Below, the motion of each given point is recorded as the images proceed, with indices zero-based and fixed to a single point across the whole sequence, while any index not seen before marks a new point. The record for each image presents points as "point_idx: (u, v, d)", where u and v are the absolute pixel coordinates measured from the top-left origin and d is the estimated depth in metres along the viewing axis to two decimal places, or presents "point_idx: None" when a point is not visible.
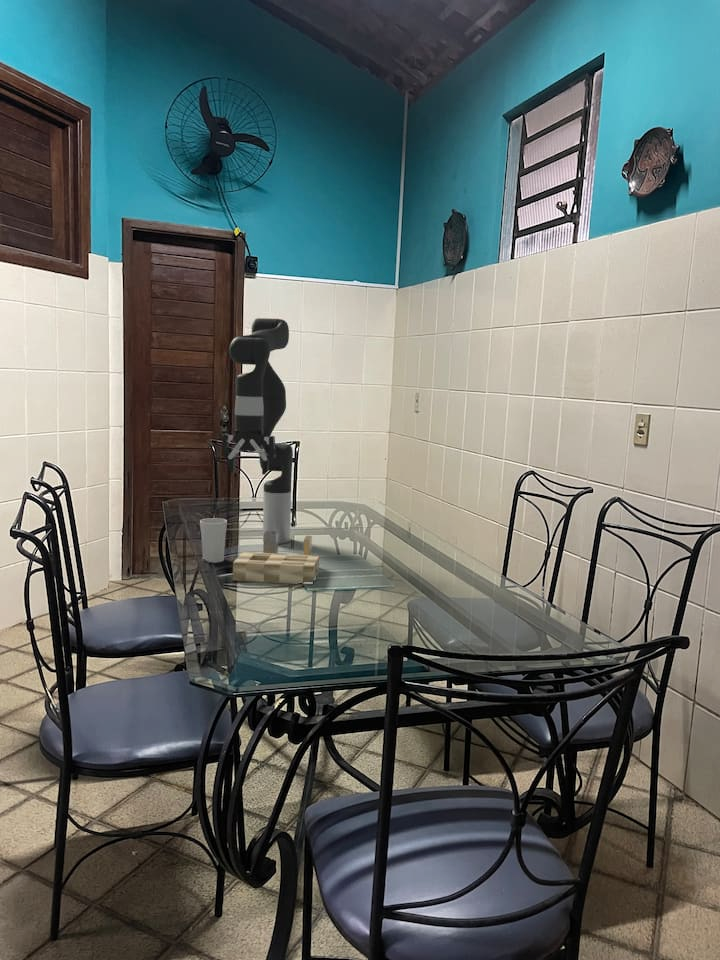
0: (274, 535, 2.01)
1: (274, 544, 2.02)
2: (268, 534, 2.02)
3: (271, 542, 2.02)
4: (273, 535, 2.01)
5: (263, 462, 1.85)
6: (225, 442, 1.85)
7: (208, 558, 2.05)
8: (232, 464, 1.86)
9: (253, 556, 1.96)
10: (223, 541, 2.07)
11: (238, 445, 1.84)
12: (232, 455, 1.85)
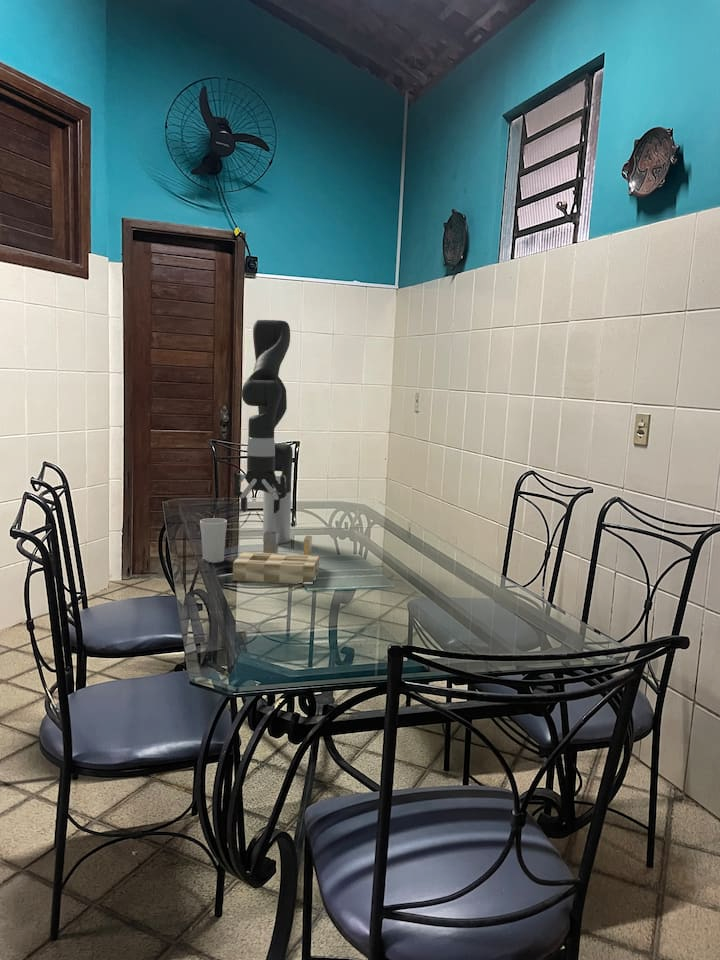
0: (274, 535, 2.01)
1: (274, 544, 2.02)
2: (268, 534, 2.02)
3: (271, 542, 2.02)
4: (273, 535, 2.01)
5: (274, 501, 1.89)
6: (237, 482, 1.89)
7: (208, 558, 2.05)
8: (244, 503, 1.90)
9: (253, 556, 1.96)
10: (223, 541, 2.07)
11: (250, 485, 1.89)
12: (244, 494, 1.90)
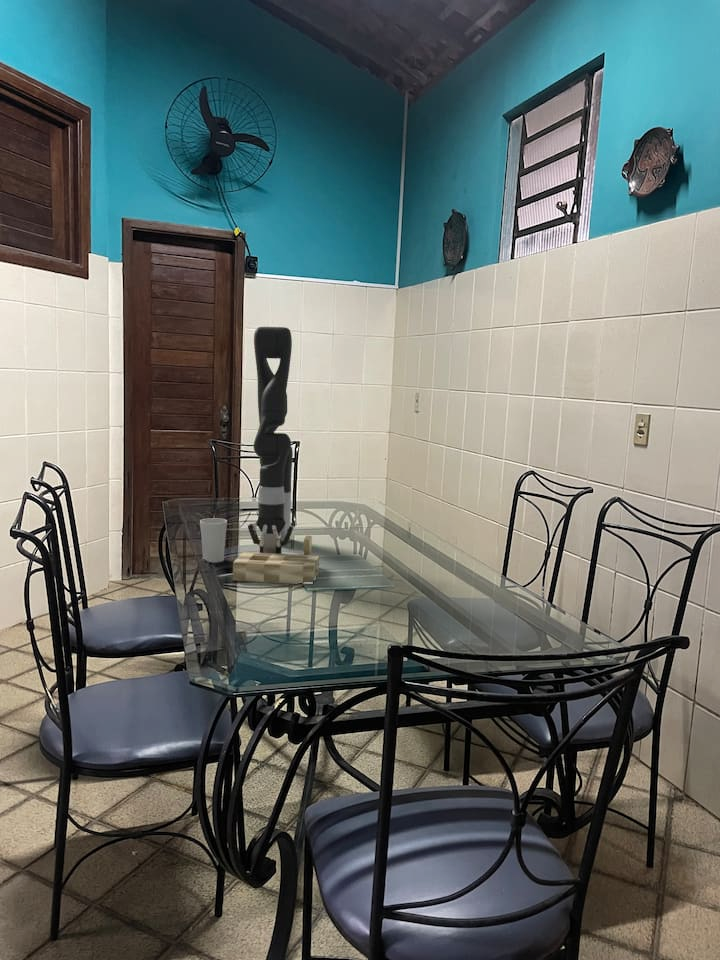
0: (274, 535, 2.01)
1: (274, 544, 2.02)
2: (268, 534, 2.02)
3: (271, 542, 2.02)
4: (273, 535, 2.01)
5: (276, 548, 2.03)
6: (252, 531, 2.02)
7: (208, 558, 2.05)
8: None
9: (253, 556, 1.96)
10: (223, 541, 2.07)
11: (263, 531, 2.02)
12: (263, 542, 2.03)
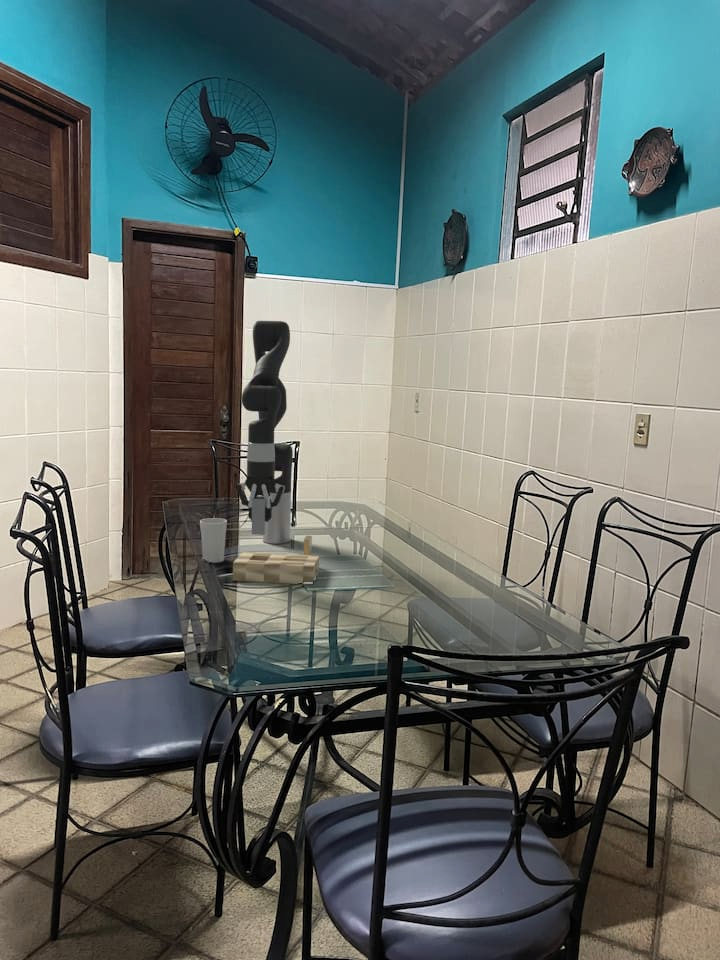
0: (263, 500, 1.88)
1: (263, 510, 1.88)
2: (257, 499, 1.88)
3: (260, 508, 1.88)
4: (262, 500, 1.88)
5: (266, 510, 1.90)
6: (240, 491, 1.90)
7: (208, 558, 2.05)
8: None
9: (253, 556, 1.96)
10: (223, 541, 2.07)
11: (252, 491, 1.89)
12: None
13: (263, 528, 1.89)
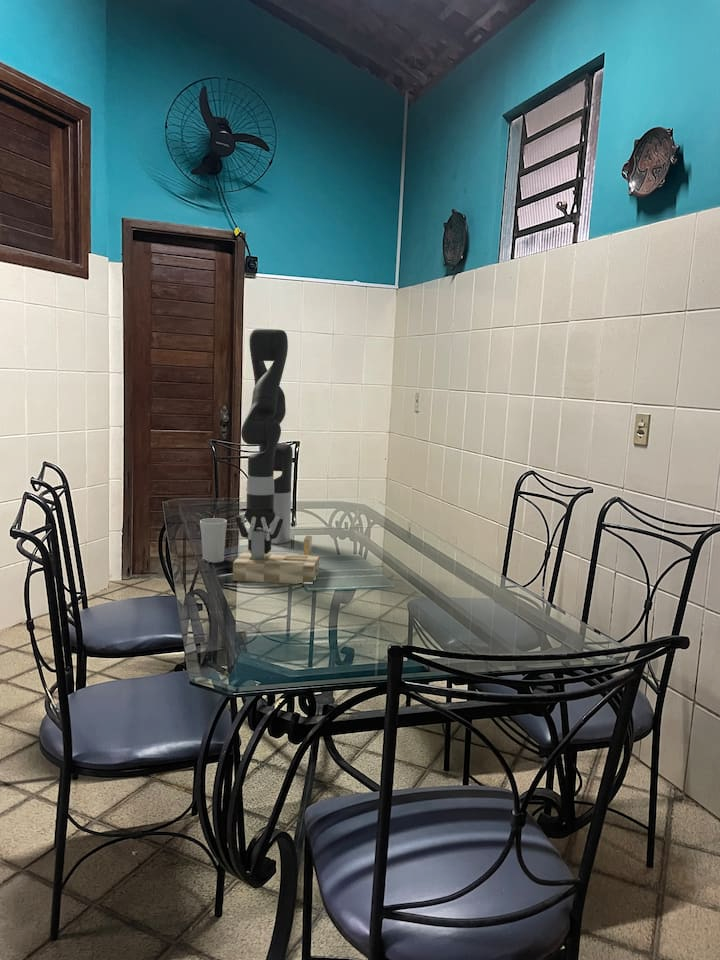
0: (262, 533, 1.89)
1: (263, 542, 1.90)
2: (256, 532, 1.89)
3: (259, 541, 1.90)
4: (261, 533, 1.89)
5: (266, 542, 1.91)
6: (240, 523, 1.91)
7: (208, 558, 2.05)
8: None
9: None
10: (223, 541, 2.07)
11: (252, 524, 1.90)
12: None
13: (262, 560, 1.91)
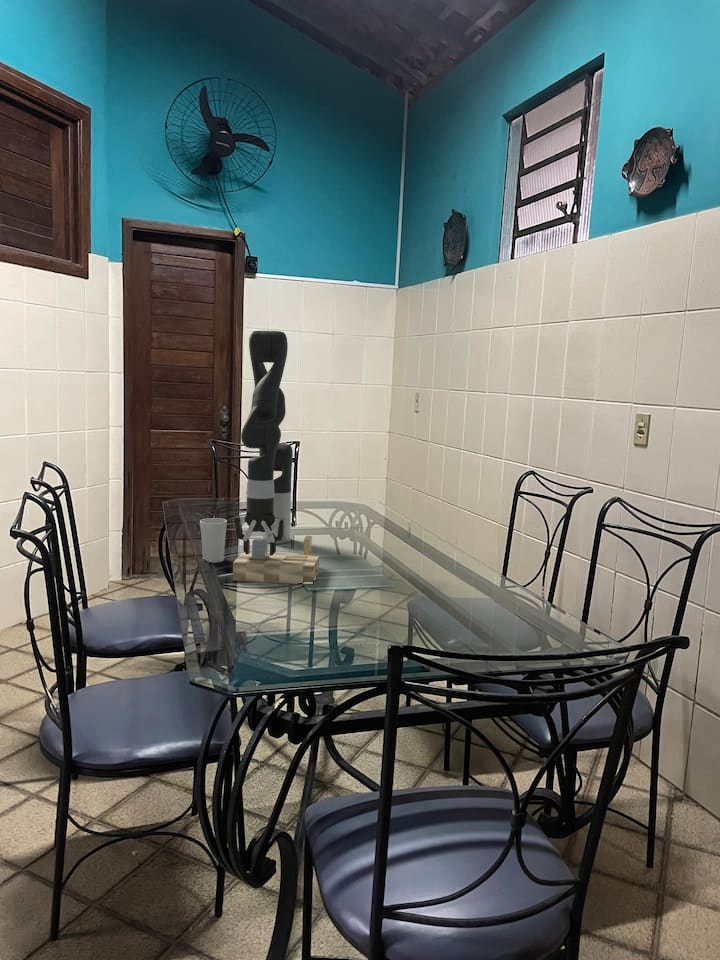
0: (263, 542, 1.91)
1: (263, 552, 1.91)
2: (257, 541, 1.91)
3: (260, 550, 1.91)
4: (262, 542, 1.91)
5: (271, 544, 1.91)
6: (238, 525, 1.91)
7: (208, 558, 2.05)
8: (247, 546, 1.92)
9: None
10: (223, 541, 2.07)
11: (250, 527, 1.90)
12: (247, 537, 1.91)
13: None
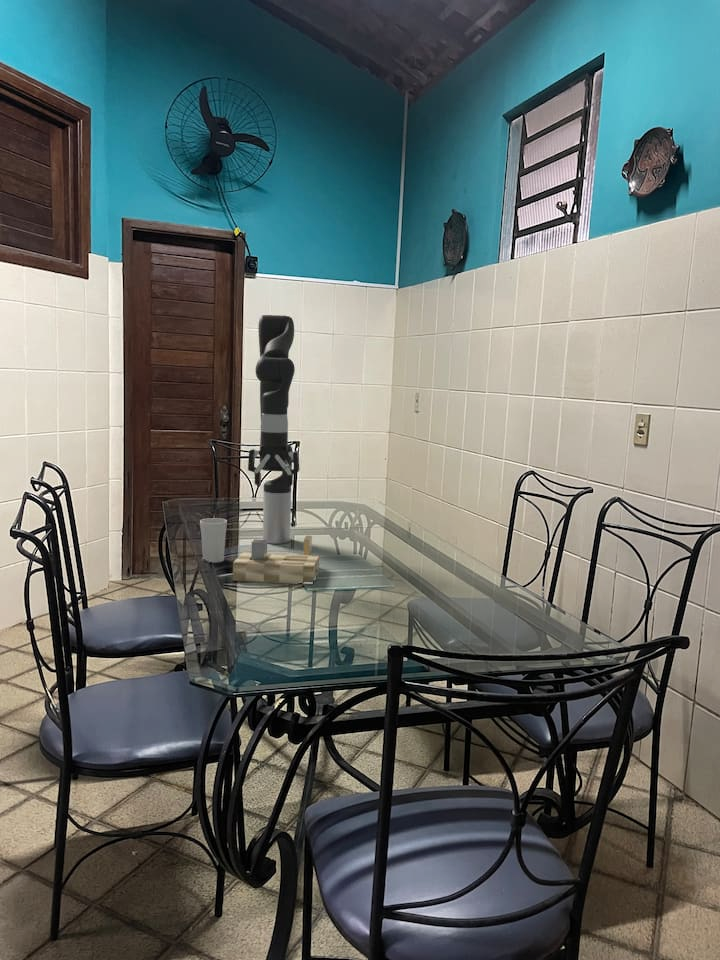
0: (263, 544, 1.90)
1: (263, 553, 1.91)
2: (256, 543, 1.90)
3: (259, 552, 1.91)
4: (262, 544, 1.90)
5: (287, 476, 1.94)
6: (251, 457, 1.94)
7: (208, 558, 2.05)
8: (258, 478, 1.95)
9: None
10: (223, 541, 2.07)
11: (264, 460, 1.93)
12: (258, 469, 1.94)
13: None
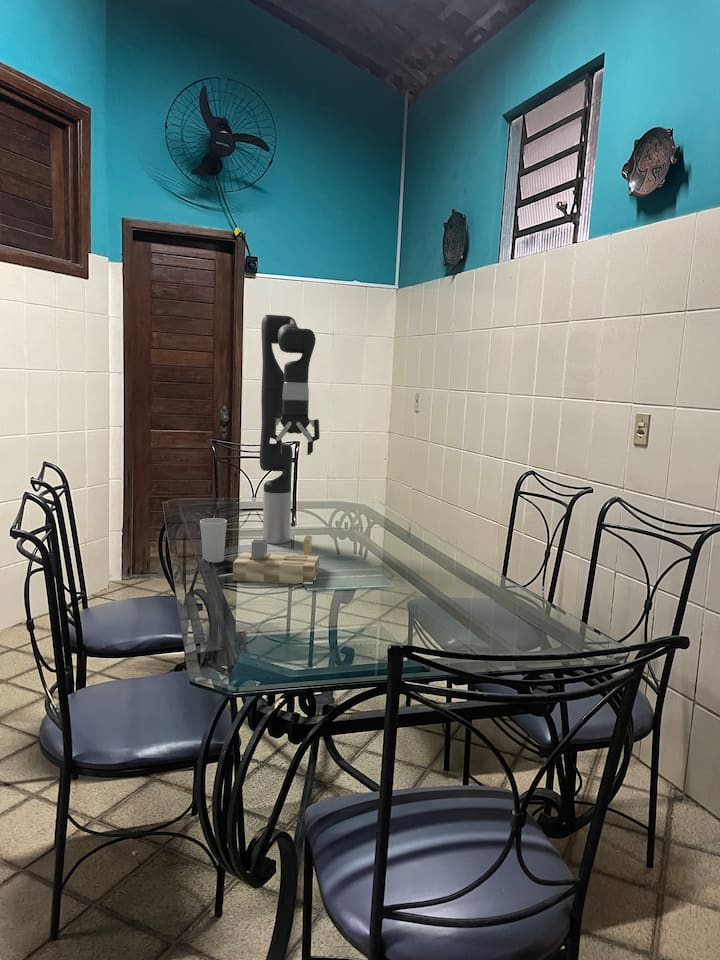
0: (263, 544, 1.90)
1: (263, 553, 1.91)
2: (256, 543, 1.90)
3: (259, 552, 1.91)
4: (262, 544, 1.90)
5: (308, 443, 2.01)
6: (273, 425, 2.01)
7: (208, 558, 2.05)
8: (280, 445, 2.01)
9: None
10: (223, 541, 2.07)
11: (285, 427, 2.00)
12: (280, 437, 2.01)
13: None
